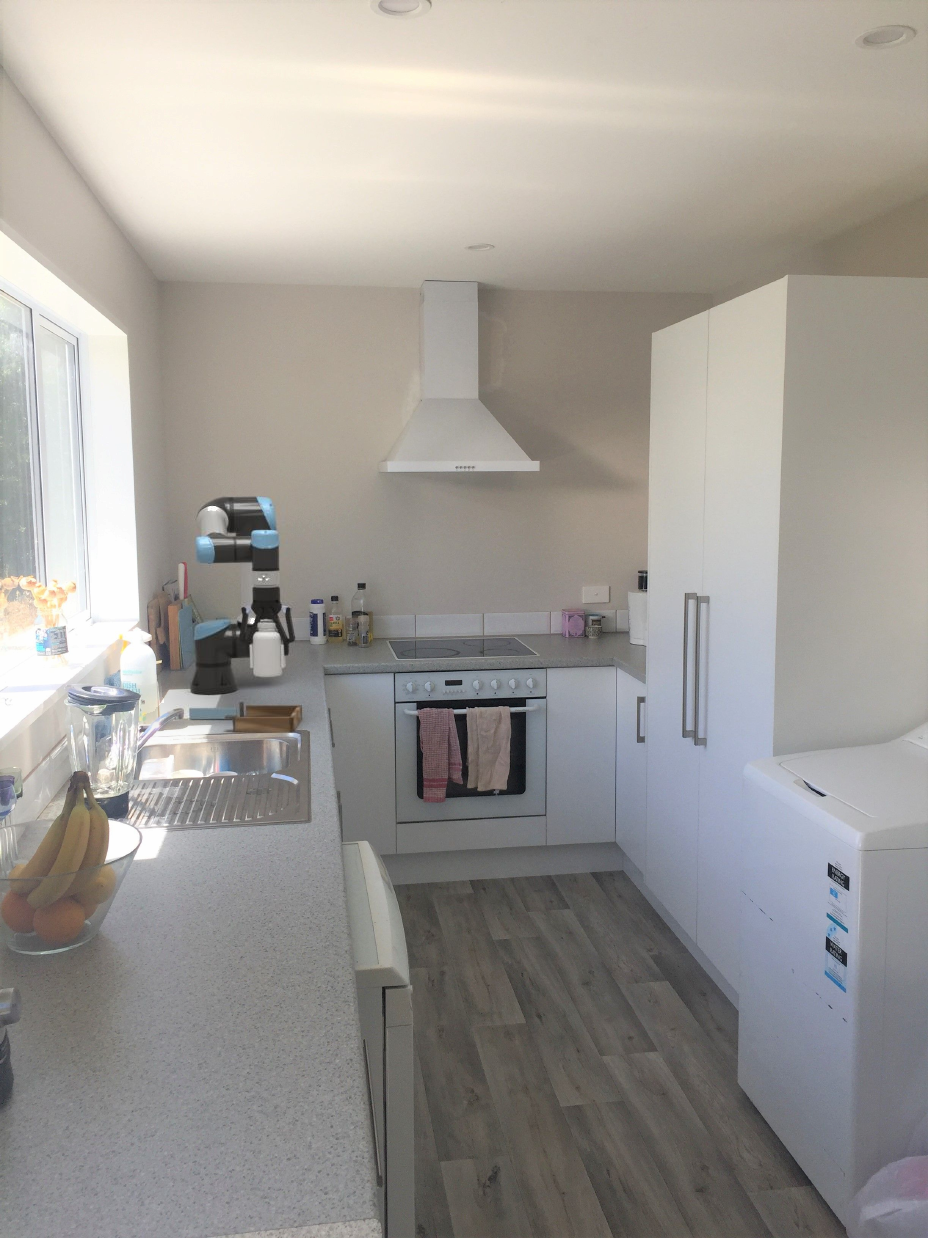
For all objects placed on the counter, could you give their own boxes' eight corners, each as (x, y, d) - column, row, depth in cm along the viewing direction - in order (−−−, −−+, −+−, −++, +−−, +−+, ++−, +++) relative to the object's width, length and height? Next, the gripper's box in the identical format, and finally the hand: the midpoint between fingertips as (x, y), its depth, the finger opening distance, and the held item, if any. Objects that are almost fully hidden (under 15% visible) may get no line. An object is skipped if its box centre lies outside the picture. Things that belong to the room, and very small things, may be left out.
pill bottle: (272, 678, 262) (271, 624, 261) (247, 676, 265) (246, 622, 263) (288, 673, 270) (286, 620, 268) (263, 671, 273) (262, 619, 271)
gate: (237, 718, 277) (236, 707, 277) (236, 718, 276) (236, 708, 276) (190, 718, 277) (190, 707, 276) (189, 718, 276) (189, 708, 276)
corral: (237, 718, 277) (237, 702, 277) (302, 718, 278) (301, 701, 277) (225, 732, 261) (224, 714, 261) (293, 732, 262) (292, 714, 261)
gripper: (225, 587, 261) (227, 669, 263) (301, 587, 261) (303, 669, 264) (231, 584, 268) (233, 664, 271) (305, 584, 268) (307, 664, 271)
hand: (268, 667), depth 267 cm, fingers closed on pill bottle, 8 cm apart
